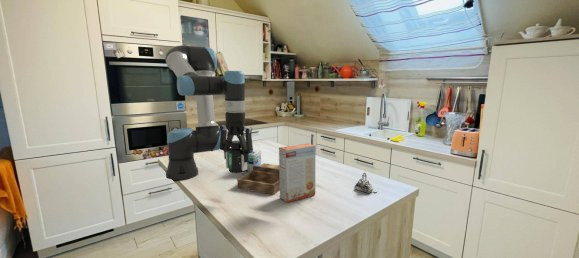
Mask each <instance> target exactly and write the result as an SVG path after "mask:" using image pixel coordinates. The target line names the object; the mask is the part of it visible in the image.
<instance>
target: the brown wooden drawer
mask: <svg viewBox="0 0 579 258" xmlns="http://www.w3.org/2000/svg"><path fill="white" fill-rule="evenodd" d="M236 180H237V181H236V182H237V183H236V185H237V189H242V190H245V191H251V192H257V193H263V194H269V195H276V194H277V193H278V192H280V177H279V175H272V174H265V173H258V172H250V173H248V174H246V175H243V176H241V177H239V178H237V179H236Z"/></svg>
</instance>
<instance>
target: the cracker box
mask: <svg viewBox="0 0 579 258" xmlns="http://www.w3.org/2000/svg"><path fill="white" fill-rule="evenodd" d="M278 163H279V164H278V165H279V177H280V190H279V198H280V199H281V200H282V201H284V202H285V203H290V202H294V201H298V200H301V199H302V200H303V199H305V198H309V197H312V196H316V145H314V144H311V143H302V144H294V145H289V146H288V145H287V146H282V147H281V146H280V147H278Z"/></svg>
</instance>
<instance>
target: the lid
mask: <svg viewBox="0 0 579 258" xmlns="http://www.w3.org/2000/svg"><path fill="white" fill-rule="evenodd" d="M251 172H258V173H265V174H272V175H279V164H273V163H261V165H259V166H253V169H252V170H251Z"/></svg>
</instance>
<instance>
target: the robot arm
mask: <svg viewBox="0 0 579 258" xmlns="http://www.w3.org/2000/svg"><path fill="white" fill-rule="evenodd" d="M164 61H165V64H166V66H167V67H168V68H169V70H170V71H173V73H174V75H175V76H176V89H177V92H178V94H179V95H180V96H188V97H192V96H193V97H194V96H195V103H196V112H197V113H196V114H197V124H196V125H195V129H194V130H193V128H192V127H182V128H177V129H173V130H170V131H169V132H168V133H167V136H166V137H167V140H166V143H167V153H168V165H167V169H166V170H165V178H166V179H169V180H173V181H174V180H175V181H177V180H188V179H191V178H194V177H196V176H197V175H199V168H198V167H197V164H196V160H195V157H194V156H195V155H194V154H200V153H205V152H207V153H208V152H214V151H219V150H220V151H222V152H223V154H224V155H223V158H224V160H225V168H226V169H229V168H228V150H229V149H230V148H231V147H230V142H231V141H233V139H234V136H236V138H237V139H238V141H239V142H240V145H241V148H242V151H243V154H242V155H241V156H242V171H244V170H246V169H247V162H248V161H249V153H252V152H253V150H254V148H253V147H254V145H253V139H252V138H253V137H252V131H253V128H252V127H248V126H246V123H245V121H246V112H245V111H246V99H245V95H246V93H245V92H246V91H245V88H246V87H245V86H246V85H245V84H246V80H245V72H243V71H242V70H225V71H224V74H223V76H222V75H221V76H218V75H217V76H216V75H215V76H213V75H214V74H215V71H216V70H217V68H218V58H217V55H216V52H215V50H214V49H213V48H212V47H205V46H197V45H195V46H194V45H193V46H192V45H185V44H184V45H183V44H182V45H176V46H173V47H172V48H170V49H169V50H168V51H167V52H166V54H165V59H164ZM214 96H224V108H225V111H226V112H225V113H224V115H225V124H223V125H220V126H219V124H218V123H217V122H216V117H215V116H216V114H215V105H214V104H215V103H214Z"/></svg>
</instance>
